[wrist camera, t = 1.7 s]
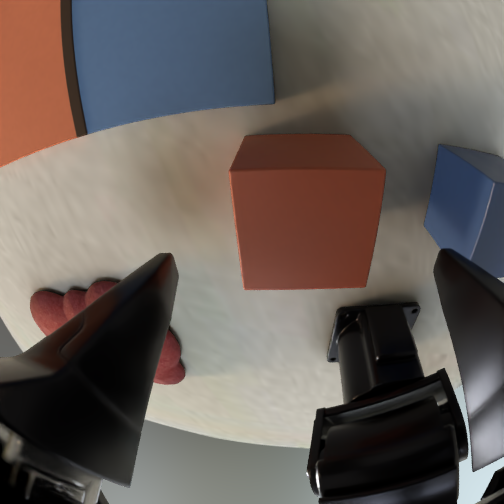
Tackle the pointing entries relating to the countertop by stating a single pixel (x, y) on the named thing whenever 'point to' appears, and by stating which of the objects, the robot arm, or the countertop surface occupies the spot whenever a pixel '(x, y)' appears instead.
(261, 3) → the sorting mat
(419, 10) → the countertop surface
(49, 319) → the red lumpy blob
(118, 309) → the robot arm
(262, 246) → the terracotta block
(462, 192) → the slate-blue block
